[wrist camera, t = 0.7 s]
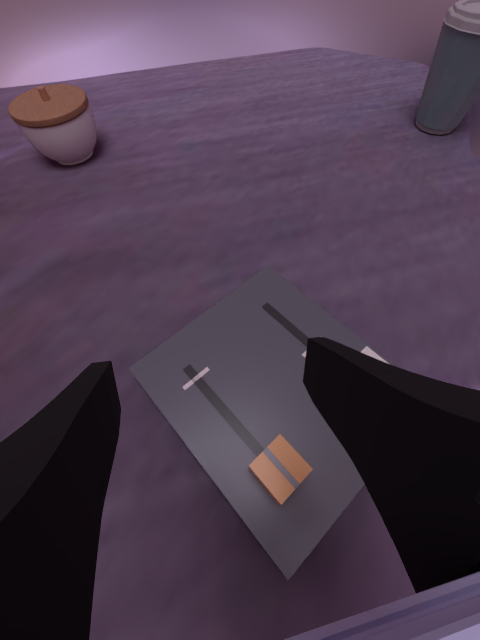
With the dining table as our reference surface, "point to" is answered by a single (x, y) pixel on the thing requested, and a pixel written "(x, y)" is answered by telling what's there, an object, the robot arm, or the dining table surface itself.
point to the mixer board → (257, 408)
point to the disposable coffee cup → (452, 71)
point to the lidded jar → (57, 122)
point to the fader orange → (280, 469)
